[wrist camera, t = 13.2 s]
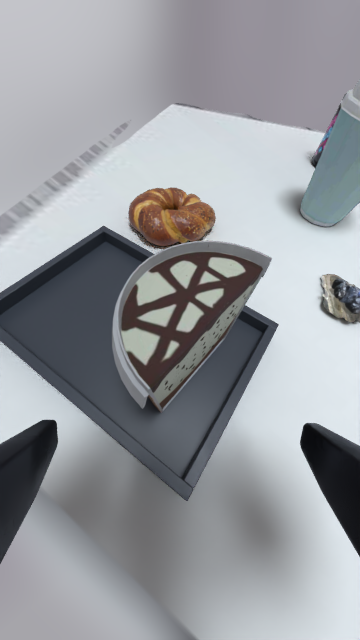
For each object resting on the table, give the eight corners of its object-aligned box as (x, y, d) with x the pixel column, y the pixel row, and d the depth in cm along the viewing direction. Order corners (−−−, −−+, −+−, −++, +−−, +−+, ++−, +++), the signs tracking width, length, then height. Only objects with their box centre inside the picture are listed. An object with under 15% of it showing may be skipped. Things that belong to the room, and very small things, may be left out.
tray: (184, 497, 16) (187, 501, 14) (-18, 324, 22) (-32, 312, 20) (270, 333, 24) (279, 324, 22) (106, 238, 30) (103, 225, 28)
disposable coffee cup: (321, 194, 41) (395, 74, 28) (367, 230, 36) (481, 105, 23) (274, 202, 38) (333, 73, 25) (317, 243, 33) (417, 108, 20)
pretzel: (210, 206, 36) (215, 182, 32) (215, 253, 30) (222, 229, 27) (134, 199, 35) (132, 174, 32) (124, 247, 29) (120, 221, 26)
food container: (187, 296, 25) (202, 212, 17) (232, 329, 23) (276, 254, 15) (97, 377, 19) (51, 312, 11) (148, 428, 18) (139, 399, 9)
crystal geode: (329, 327, 25) (341, 318, 23) (302, 274, 29) (310, 263, 28) (382, 325, 26) (397, 316, 24) (349, 273, 30) (359, 263, 28)
